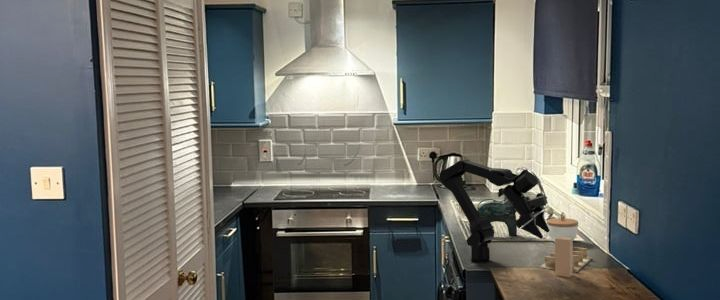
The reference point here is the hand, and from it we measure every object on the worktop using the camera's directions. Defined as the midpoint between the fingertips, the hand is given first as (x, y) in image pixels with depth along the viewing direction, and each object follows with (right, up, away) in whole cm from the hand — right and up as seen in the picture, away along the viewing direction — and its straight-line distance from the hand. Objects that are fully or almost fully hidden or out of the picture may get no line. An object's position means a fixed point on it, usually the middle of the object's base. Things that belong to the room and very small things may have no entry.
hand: (545, 234), depth 226 cm
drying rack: (+11, -12, +10) cm, 19 cm away
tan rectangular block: (+5, -13, -5) cm, 15 cm away
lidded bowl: (+20, -9, +43) cm, 48 cm away
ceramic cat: (-4, -8, +58) cm, 59 cm away
